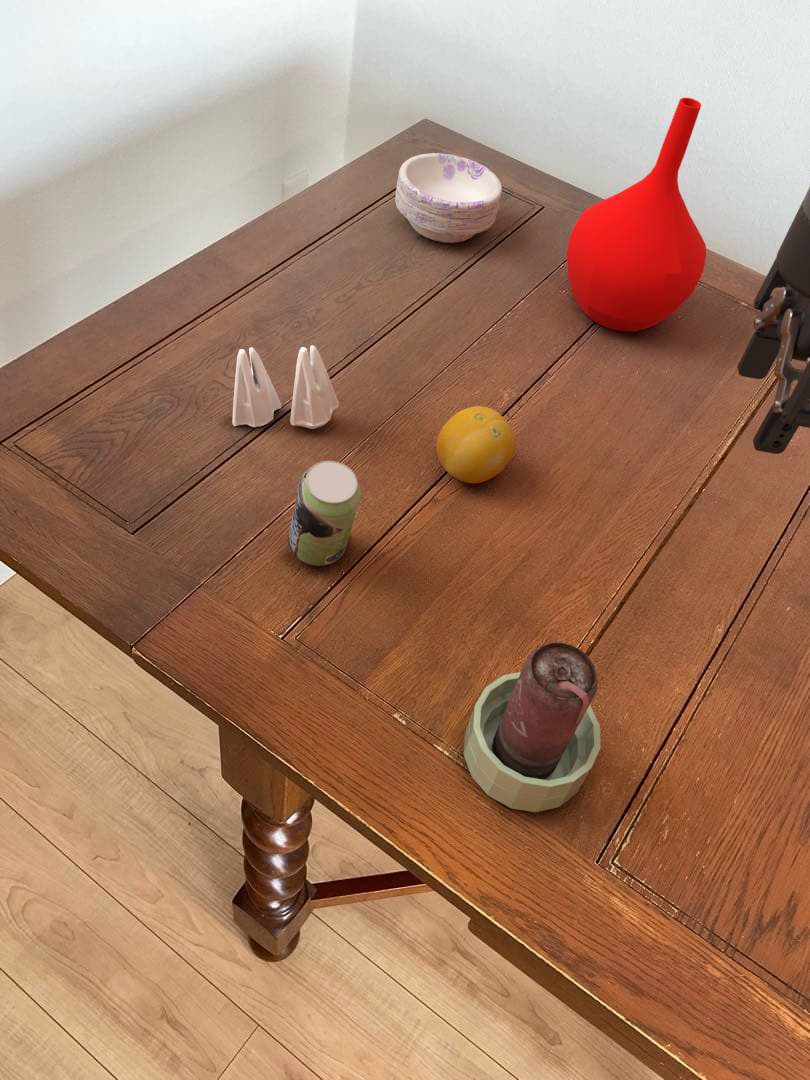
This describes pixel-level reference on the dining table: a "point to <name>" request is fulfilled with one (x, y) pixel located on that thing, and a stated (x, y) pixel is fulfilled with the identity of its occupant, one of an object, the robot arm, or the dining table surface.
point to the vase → (640, 243)
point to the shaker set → (259, 403)
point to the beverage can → (323, 513)
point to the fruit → (475, 444)
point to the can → (545, 709)
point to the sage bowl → (506, 781)
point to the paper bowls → (447, 196)
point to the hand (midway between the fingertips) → (757, 410)
